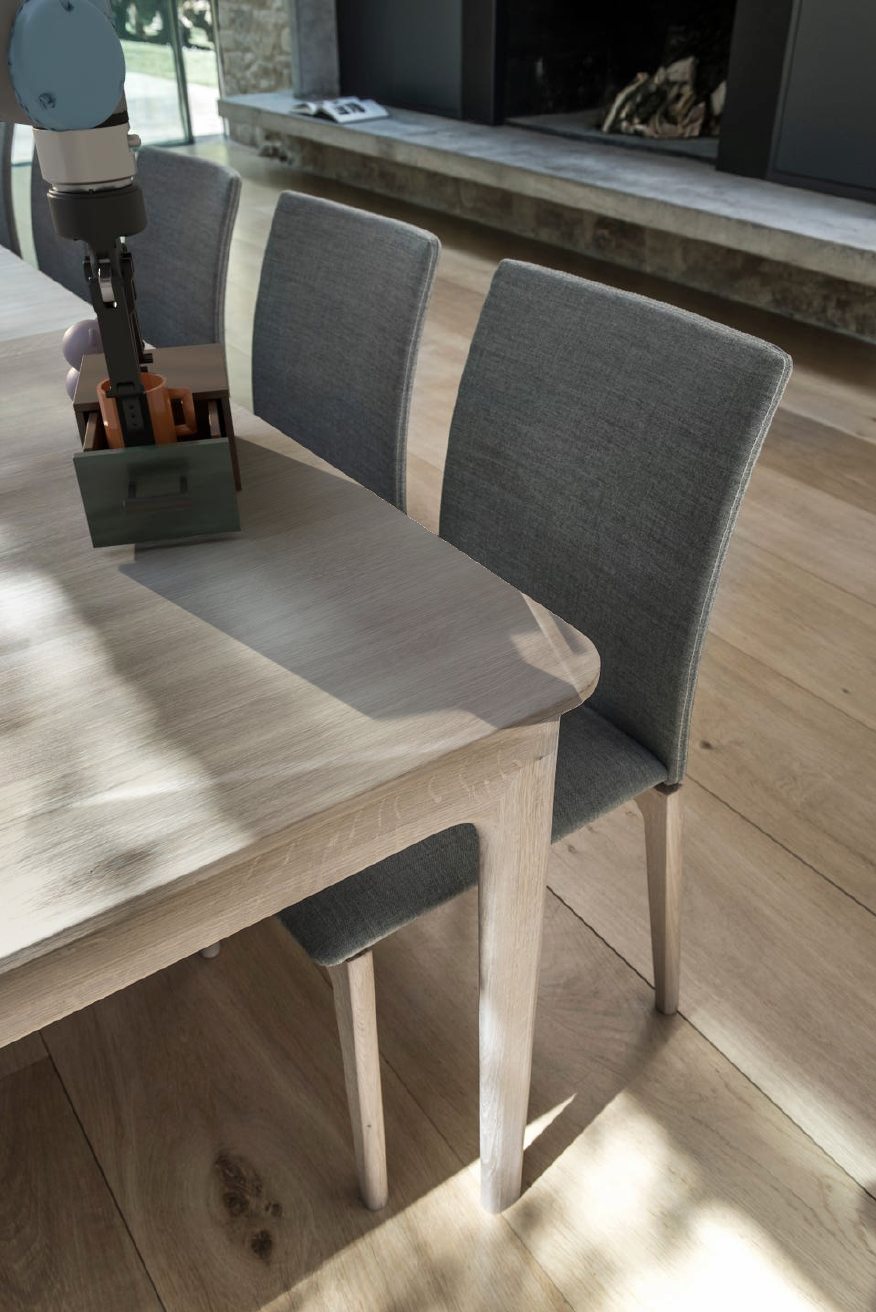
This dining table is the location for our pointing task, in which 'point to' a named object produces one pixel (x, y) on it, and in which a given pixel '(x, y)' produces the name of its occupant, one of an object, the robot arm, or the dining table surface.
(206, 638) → the dining table surface
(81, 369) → the cabinet
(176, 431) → the mug
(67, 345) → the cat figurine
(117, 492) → the drawer
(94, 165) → the robot arm
